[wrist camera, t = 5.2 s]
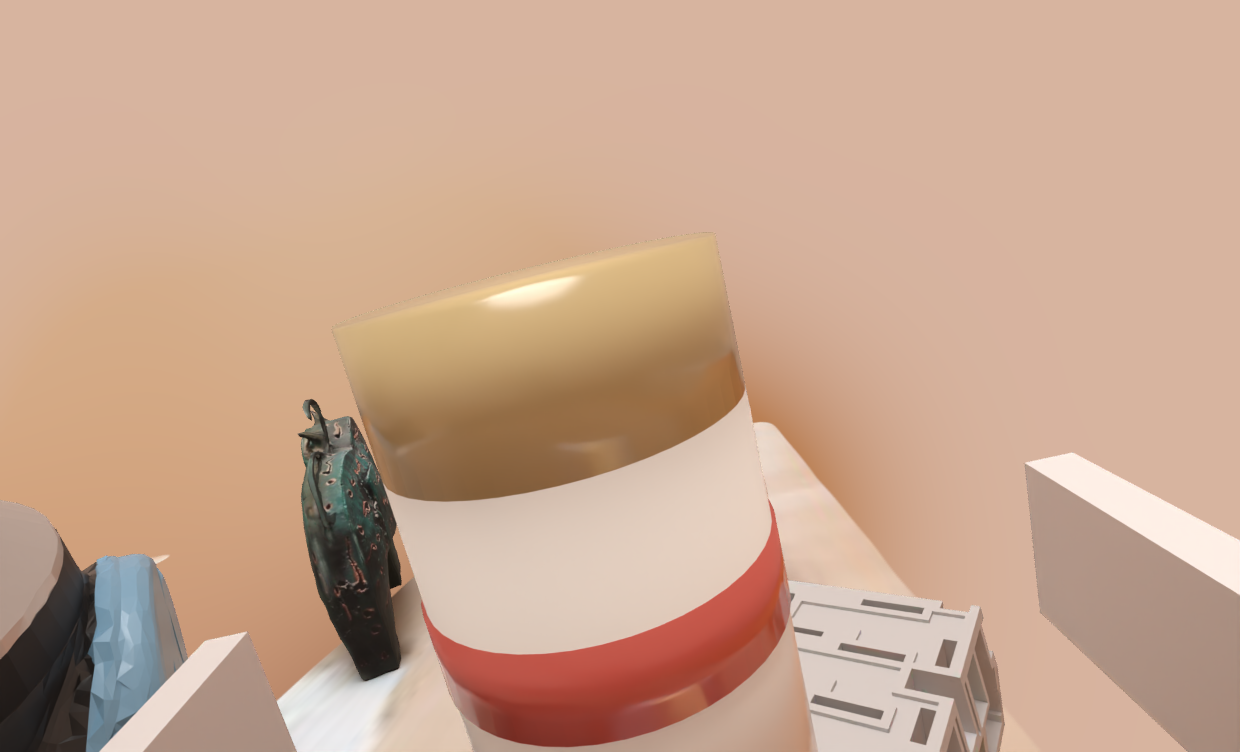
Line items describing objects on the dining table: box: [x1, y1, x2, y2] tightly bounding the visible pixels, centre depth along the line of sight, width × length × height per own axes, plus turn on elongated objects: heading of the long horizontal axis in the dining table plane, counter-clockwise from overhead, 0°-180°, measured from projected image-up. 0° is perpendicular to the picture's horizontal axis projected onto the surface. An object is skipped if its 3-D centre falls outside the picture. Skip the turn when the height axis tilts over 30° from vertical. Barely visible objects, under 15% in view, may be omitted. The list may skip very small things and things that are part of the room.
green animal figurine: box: [298, 399, 401, 680], centre depth 58 cm, size 20×6×20 cm, turn 18°
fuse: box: [332, 232, 818, 752], centre depth 11 cm, size 5×5×14 cm
